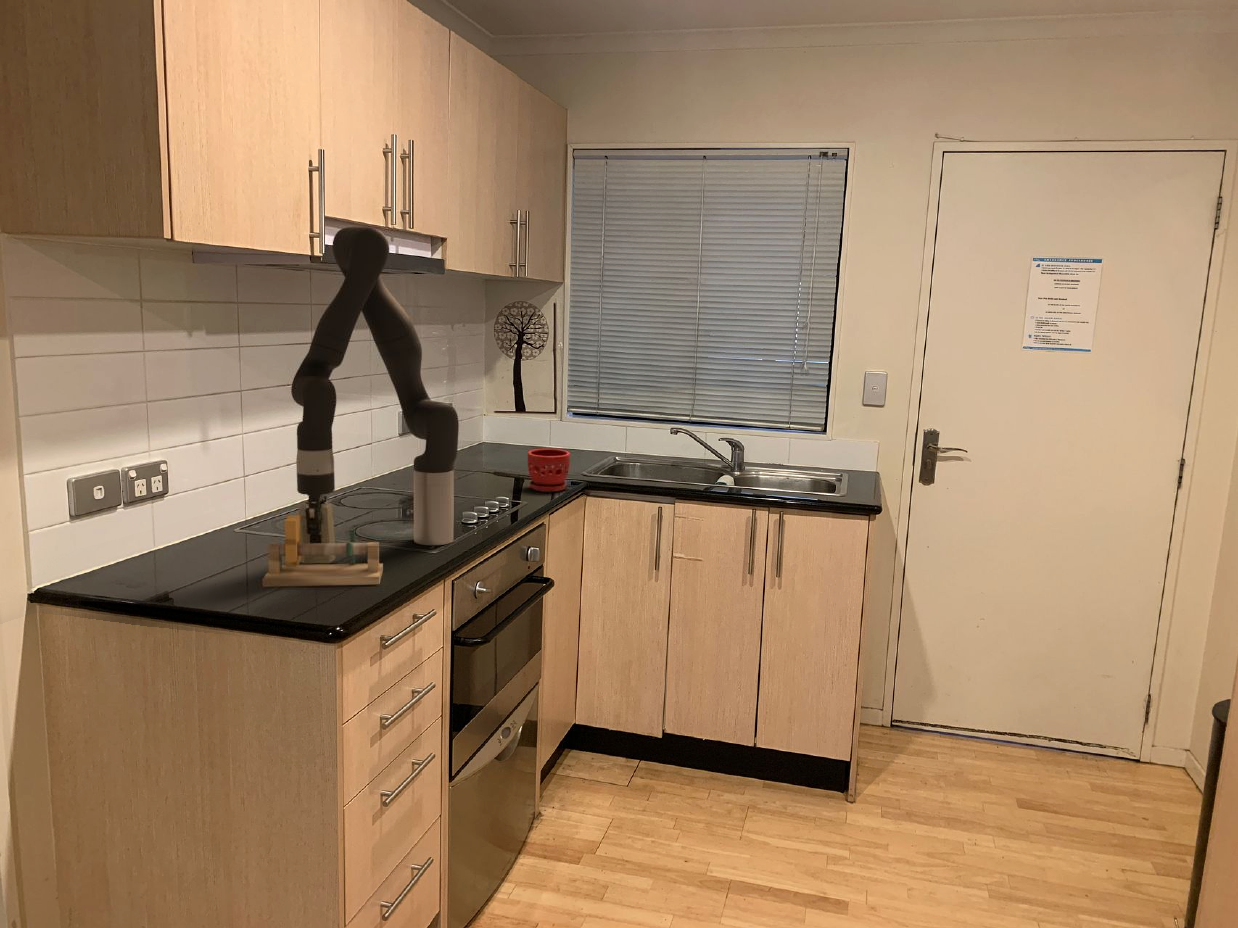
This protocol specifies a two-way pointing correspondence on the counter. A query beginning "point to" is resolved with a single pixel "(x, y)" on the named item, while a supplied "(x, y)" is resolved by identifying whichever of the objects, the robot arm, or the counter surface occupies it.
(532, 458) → the plant pot
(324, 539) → the skincare box
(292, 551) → the orange block
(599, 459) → the counter surface
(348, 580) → the pipe rig
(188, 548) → the counter surface
